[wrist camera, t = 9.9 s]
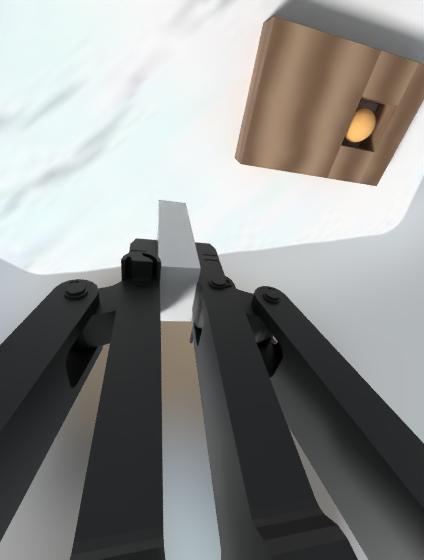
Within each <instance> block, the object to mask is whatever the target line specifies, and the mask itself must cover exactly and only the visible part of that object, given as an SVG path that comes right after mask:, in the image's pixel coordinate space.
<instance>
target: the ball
mask: <svg viewBox="0 0 424 560" xmlns="http://www.w3.org/2000/svg"><path fill="white" fill-rule="evenodd" d="M375 123H376V119H375V115H374V113H373V112H372V111H371V110H369V109H366V108H359V109H356V112H355V114H354V116H353V119H352V121H351V123H350V126H349V128H348V130H347V133H346V135H345V137H344V138H345V139H346V140H347V141H349V142H360V141H362V140H364V139H366V138H367V137H368V136H369V135H370V134H371V133H372V131H373V129H374V127H375Z"/></svg>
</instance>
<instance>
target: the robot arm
mask: <svg viewBox="0 0 424 560" xmlns="http://www.w3.org/2000/svg"><path fill="white" fill-rule="evenodd" d="M121 269H122V281H121V282H119V283H118V284H115V285H113V286H109V287H105V288H99V289H98V288H97V285H95V284H94V283H93V282H90V281H88V280H79V279H77V280H70V281H66V282H64V283H61V284H60V285H58V286H57V287H56V288H54V289H53V291H52V292H51V293H50V294H49V295H48V296H47V297H46V298H45V299H44V300H43V301H42V302H41V303H40V304H39V305H38V306H37V308H35V309H34V310H33V311H32V312H31V313H30V315H29V316H28V317H27V318H26V319H25V320H24V321H23V322H22V323H21V324H20V325H19V326H18V327H17V328H16V329H15V330H14V331H13V332H12V333H11V335H9V336H8V338H7V339H6V340H5V341H4V342H3V343H2V344H1V345H0V541H1V539H2V538H3V536H4V534H5V532H6V530H7V528H8V526H9V524H10V522H11V520H12V518H13V517H14V515H15V513H16V511H17V509H18V507H19V505H20V504H21V502H22V500H23V498H24V496H25V494H26V492H27V490H28V488H29V486H30V485H31V483H32V481H33V479H34V477H35V475H36V473H37V471H38V470H39V468H40V466H41V464H42V462H43V460H44V458H45V456H46V454H47V453H48V451H49V449H50V447H51V445H52V443H53V441H54V439H55V437H56V436H57V434H58V432H59V430H60V428H61V426H62V424H63V422H64V420H65V418H66V417H67V415H68V413H69V411H70V409H71V407H72V405H73V403H74V402H75V400H76V398H77V396H78V394H79V392H80V390H81V388H82V386H83V385H84V383H85V381H86V379H87V377H88V375H89V373H90V371H91V369H92V367H93V366H94V364H95V362H96V360H97V358H98V356H99V354H100V352H101V350H102V348H103V345H105V344H108V343H110V348H109V352H108V358H107V363H106V369H105V374H104V381H103V385H102V391H101V396H100V402H99V407H98V412H97V418H96V423H95V429H94V435H93V440H92V446H91V451H90V456H89V462H88V467H87V473H86V478H85V483H84V489H83V494H82V500H81V505H80V511H79V517H78V522H77V527H76V532H75V538H74V543H73V548H72V553H71V557H70V560H165V552H164V539H163V485H162V484H163V482H162V481H163V480H162V479H163V477H162V402H161V399H162V398H161V330H160V329H161V328H160V327H161V326H160V325H161V324H160V322H161V321H191V318H192V313H193V319H194V322H193V327H192V333H191V337H190V343H192V342H193V341H194V349H195V356H196V364H197V371H198V379H199V386H200V394H201V401H202V409H203V416H204V424H205V431H206V438H207V446H208V454H209V461H210V469H211V476H212V484H213V491H214V498H215V505H216V514H217V521H218V529H219V536H220V545H221V560H358V559H357V557H356V555H355V553H354V551H353V549H352V547H351V545H350V543H349V541H348V539H347V537H346V536H345V535H344V533H343V532H342V531H341V529H340V528H339V526H338V525H337V524H336V523H334V522H333V521H332V520H331V519H329V518H328V517H327V516H326V515H325V514H324V513H323V512H322V510H321V509H320V507H319V505H318V503H317V501H316V499H315V497H314V494H313V491H312V489H311V486H310V483H309V481H308V478H307V475H306V473H305V470H304V468H303V465H302V462H301V460H300V457H299V454H298V451H297V449H296V446H295V444H294V441H293V438H292V436H291V433H290V430H291V431H292V433H293V435H294V436H295V438H296V440H297V441H298V443H299V445H300V446H301V448H302V450H303V451H304V453H305V455H306V456H307V458H308V460H309V461H310V463H311V465H312V466H313V468H314V469H315V471H316V473H317V475H318V476H319V478H320V480H321V481H322V483H323V485H324V486H325V488H326V490H327V491H328V493H329V495H330V496H331V498H332V500H333V501H334V503H335V505H336V506H337V508H338V510H339V511H340V513H341V515H342V516H343V518H344V519H345V521H346V523H347V524H348V526H349V528H350V530H351V531H352V533H353V535H354V536H355V538H356V540H357V541H358V543H359V545H360V546H361V548H362V549H363V551H364V553H365V554H366V556H367V558H368V560H424V443H423V442H422V441H421V440H420V439H419V438H418V437H417V436H416V435H415V434H414V433H413V432H412V430H411V429H410V428H409V427H408V426H407V425H406V424H405V423H404V422H403V421H402V420H401V419H400V418H399V417H398V415H397V414H396V413H395V412H394V411H393V410H392V409H391V408H390V407H389V406H388V405H387V404H386V403H385V402H384V401H383V399H382V398H381V397H380V396H379V395H378V394H377V393H376V392H375V391H374V390H373V389H372V388H371V386H370V385H369V384H368V383H367V382H366V381H365V380H364V379H363V378H362V377H361V376H360V375H359V374H358V372H357V371H356V370H355V369H354V368H353V367H352V366H351V365H350V364H349V363H348V362H347V361H346V360H345V359H344V358H343V356H342V355H341V354H340V353H339V352H338V351H337V350H336V349H335V348H334V347H333V346H332V345H331V344H330V342H329V341H328V340H327V339H326V338H325V337H324V336H323V335H322V334H321V333H320V332H319V331H318V330H317V328H316V327H315V326H314V325H313V324H312V323H311V322H310V321H309V320H308V319H307V318H306V317H305V316H304V315H303V313H302V312H301V311H300V310H299V309H298V308H297V307H296V306H295V305H294V304H293V303H292V302H291V301H290V300H289V298H288V297H287V296H286V295H285V294H284V293H282V292H281V291H280V290H278V289H276V288H273V287H269V286H262V287H259V288H257V289H256V290H255V292H254V294H252V293H248V292H244V291H241V290H238V289H236V287H235V285H234V283H233V282H232V280H231V279H229V278H228V277H226V276H225V275H224V272H223V269H222V266H221V264H220V261H219V258H218V255H217V252H216V249H215V248H214V247H213V246H212V245H211V244H207V243H195V242H194V237H193V233H192V229H191V224H190V220H189V216H188V211H187V207H186V203H179V202H171V201H162V200H159V204H158V221H157V238H156V240H148V239H135V240H134V241H133V242H132V243H131V245H130V251H129V253H128V254H126V255H125V256H123V258H122V259H121ZM273 336H274V337H275V338H276V340H277V341H278V342H276V341H275V340H274V339H273V338H272V337H273ZM288 426H289V428H290V430H289V428H288Z"/></svg>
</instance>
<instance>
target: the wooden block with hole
mask: <svg viewBox="0 0 424 560" xmlns="http://www.w3.org/2000/svg"><path fill="white" fill-rule="evenodd" d="M361 99H362V100H366V101H370V102H373V103H377V104H379V105H378V108H377V110H376V112H375V114H374V115H375V119H376V123H375V127H374V129H373V131H372V133H371V134H370V135H369V136H368V137H367V138H366V139H364V140H362V142H361V144H360V146H359V147H354V146H349V145H344V144H342V142H343V140H344V137H345V135H346V133H347V130H348V128H349V126H350V123H351V121H352V119H353V116H354V114H355V112H356V109H357V107H358V105H359V102H360V100H361ZM423 100H424V64H422V63H419V62H416V61H412V60H409V59H406V58H403V57H400V56H397V55H394V54H391V53H387V52H384V51H381V50H378V49H375V48H372V47H369V46H366V45H362V44H359V43H356V42H353V41H350V40H347V39H344V38H341V37H338V36H334V35H331V34H328V33H325V32H322V31H319V30H316V29H313V28H309V27H306V26H303V25H300V24H297V23H294V22H291V21H288V20H284V19H281V18H278V17H273V18H271V19H269V20H268V21H266V22H264V23H263V28H262V32H261V37H260V42H259V46H258V51H257V56H256V60H255V65H254V70H253V74H252V79H251V84H250V88H249V93H248V98H247V103H246V107H245V112H244V117H243V121H242V126H241V131H240V135H239V140H238V145H237V149H236V154H235V159H236V160H237V161H238V162H239V163H240V164H244V165H250V166H256V167H263V168H269V169H275V170H281V171H287V172H293V173H299V174H306V175H312V176H318V177H324V178H330V179H336V180H342V181H348V182H355V183H361V184H367V185H373V186H377V184H378V183H379V181H380V179H381V177H382V175H383V173H384V172H385V170H386V168H387V166H388V164H389V162H390V160H391V159H392V157H393V155H394V153H395V151H396V149H397V148H398V146H399V144H400V142H401V140H402V138H403V137H404V135H405V133H406V131H407V129H408V127H409V126H410V124H411V122H412V120H413V118H414V116H415V114H416V113H417V111H418V109H419V107H420V105H421V103H422V102H423Z"/></svg>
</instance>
